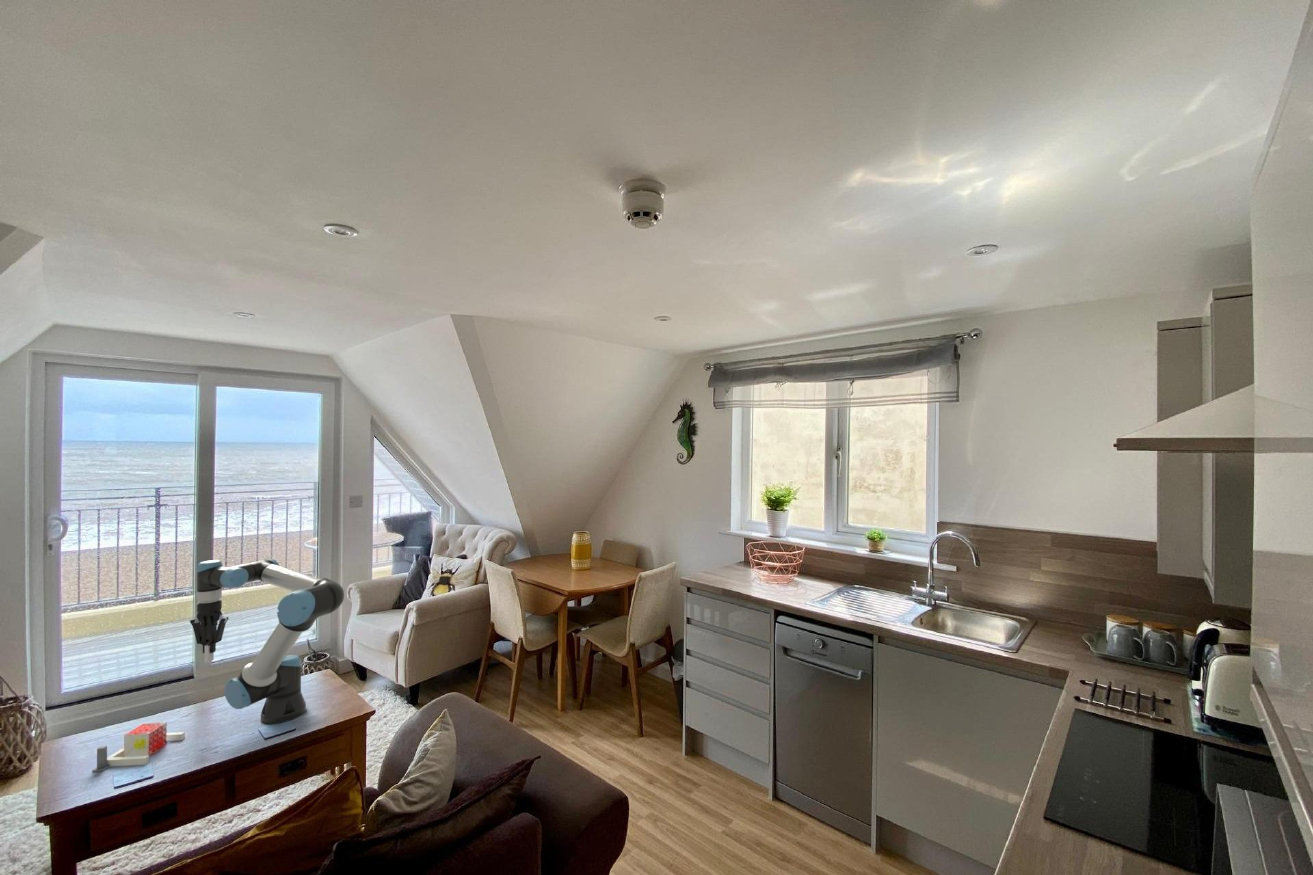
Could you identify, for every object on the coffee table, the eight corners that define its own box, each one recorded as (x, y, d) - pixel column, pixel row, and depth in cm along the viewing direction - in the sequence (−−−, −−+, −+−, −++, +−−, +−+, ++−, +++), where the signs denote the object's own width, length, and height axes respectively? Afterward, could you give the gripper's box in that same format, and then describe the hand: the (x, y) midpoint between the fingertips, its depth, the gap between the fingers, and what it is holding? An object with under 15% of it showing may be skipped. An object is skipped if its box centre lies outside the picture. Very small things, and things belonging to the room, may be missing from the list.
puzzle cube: (123, 757, 190) (124, 735, 190) (142, 745, 198) (142, 723, 198) (148, 756, 191) (148, 733, 191) (166, 744, 198) (166, 722, 199)
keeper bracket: (184, 737, 202) (184, 718, 203) (137, 769, 183) (138, 748, 183) (143, 739, 201) (144, 720, 202) (92, 771, 181) (92, 750, 182)
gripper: (233, 597, 218) (233, 656, 218) (199, 598, 217) (198, 658, 217) (220, 602, 211) (219, 664, 210) (184, 603, 210) (183, 665, 209)
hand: (209, 661), depth 213 cm, fingers closed
